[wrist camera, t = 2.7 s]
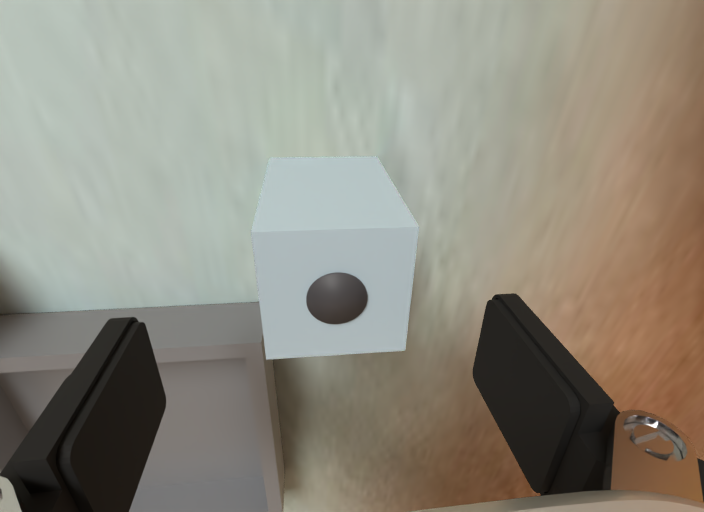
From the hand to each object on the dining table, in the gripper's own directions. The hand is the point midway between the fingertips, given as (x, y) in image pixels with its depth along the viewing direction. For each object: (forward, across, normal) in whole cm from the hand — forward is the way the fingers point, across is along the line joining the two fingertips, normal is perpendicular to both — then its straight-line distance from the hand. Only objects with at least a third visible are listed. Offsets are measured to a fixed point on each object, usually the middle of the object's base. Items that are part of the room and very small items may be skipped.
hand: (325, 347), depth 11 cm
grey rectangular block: (+8, -1, -1) cm, 8 cm away
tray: (+9, +9, +11) cm, 17 cm away
